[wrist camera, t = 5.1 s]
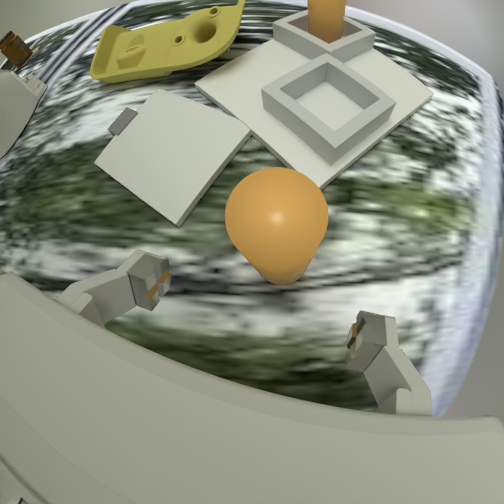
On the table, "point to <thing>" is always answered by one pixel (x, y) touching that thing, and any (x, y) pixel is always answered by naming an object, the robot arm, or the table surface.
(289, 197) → the pin
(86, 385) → the robot arm
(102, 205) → the table surface
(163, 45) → the plastic component
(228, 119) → the lid
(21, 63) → the condiment
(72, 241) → the table surface
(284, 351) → the table surface
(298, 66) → the housing
